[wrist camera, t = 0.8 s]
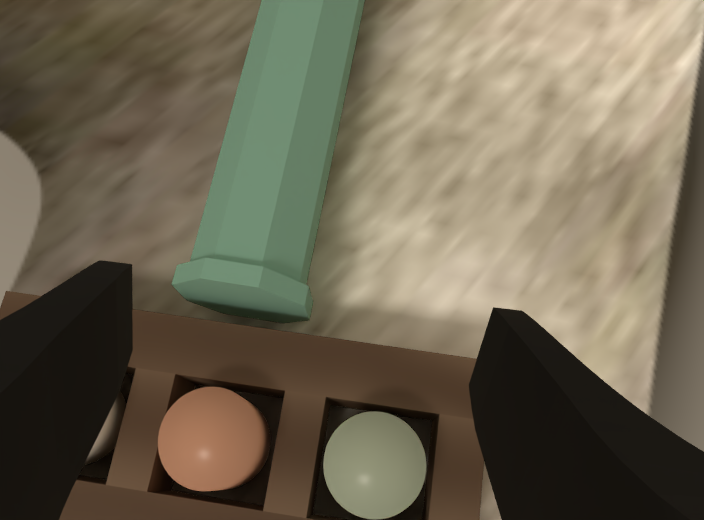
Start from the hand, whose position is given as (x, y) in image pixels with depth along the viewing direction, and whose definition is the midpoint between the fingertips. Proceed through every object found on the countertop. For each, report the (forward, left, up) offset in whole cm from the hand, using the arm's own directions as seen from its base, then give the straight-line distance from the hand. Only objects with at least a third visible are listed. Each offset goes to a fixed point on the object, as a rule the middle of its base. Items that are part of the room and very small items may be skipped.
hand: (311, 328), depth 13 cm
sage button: (-2, -2, -14) cm, 14 cm away
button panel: (-2, +4, -15) cm, 16 cm away
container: (+16, +4, -16) cm, 23 cm away
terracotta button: (-2, +4, -14) cm, 15 cm away
